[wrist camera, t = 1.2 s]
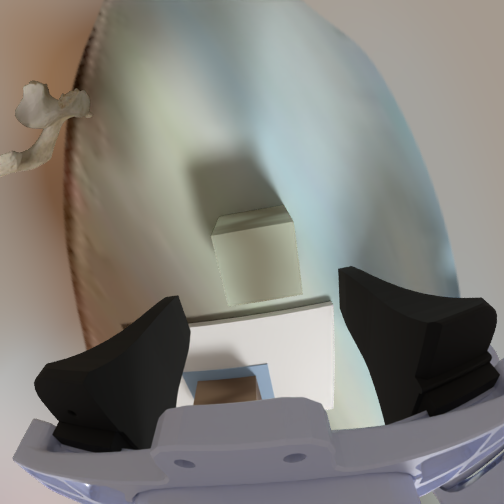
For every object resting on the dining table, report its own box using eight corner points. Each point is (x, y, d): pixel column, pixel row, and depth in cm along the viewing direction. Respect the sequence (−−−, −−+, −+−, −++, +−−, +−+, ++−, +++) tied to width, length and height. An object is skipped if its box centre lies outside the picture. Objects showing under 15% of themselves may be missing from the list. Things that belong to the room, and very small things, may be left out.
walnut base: (255, 375, 24) (256, 409, 20) (264, 409, 26) (266, 440, 22) (197, 381, 24) (191, 413, 20) (213, 413, 26) (210, 443, 22)
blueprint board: (331, 301, 22) (333, 305, 21) (332, 404, 27) (333, 409, 26) (125, 329, 23) (122, 334, 22) (176, 420, 28) (175, 425, 27)
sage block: (283, 204, 19) (293, 221, 15) (292, 264, 21) (302, 294, 17) (219, 216, 19) (210, 236, 15) (232, 274, 21) (228, 306, 17)
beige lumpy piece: (81, 38, 13) (6, 77, 6) (122, 96, 17) (78, 165, 11) (14, 104, 14) (-53, 173, 8) (52, 150, 19) (5, 231, 13)
